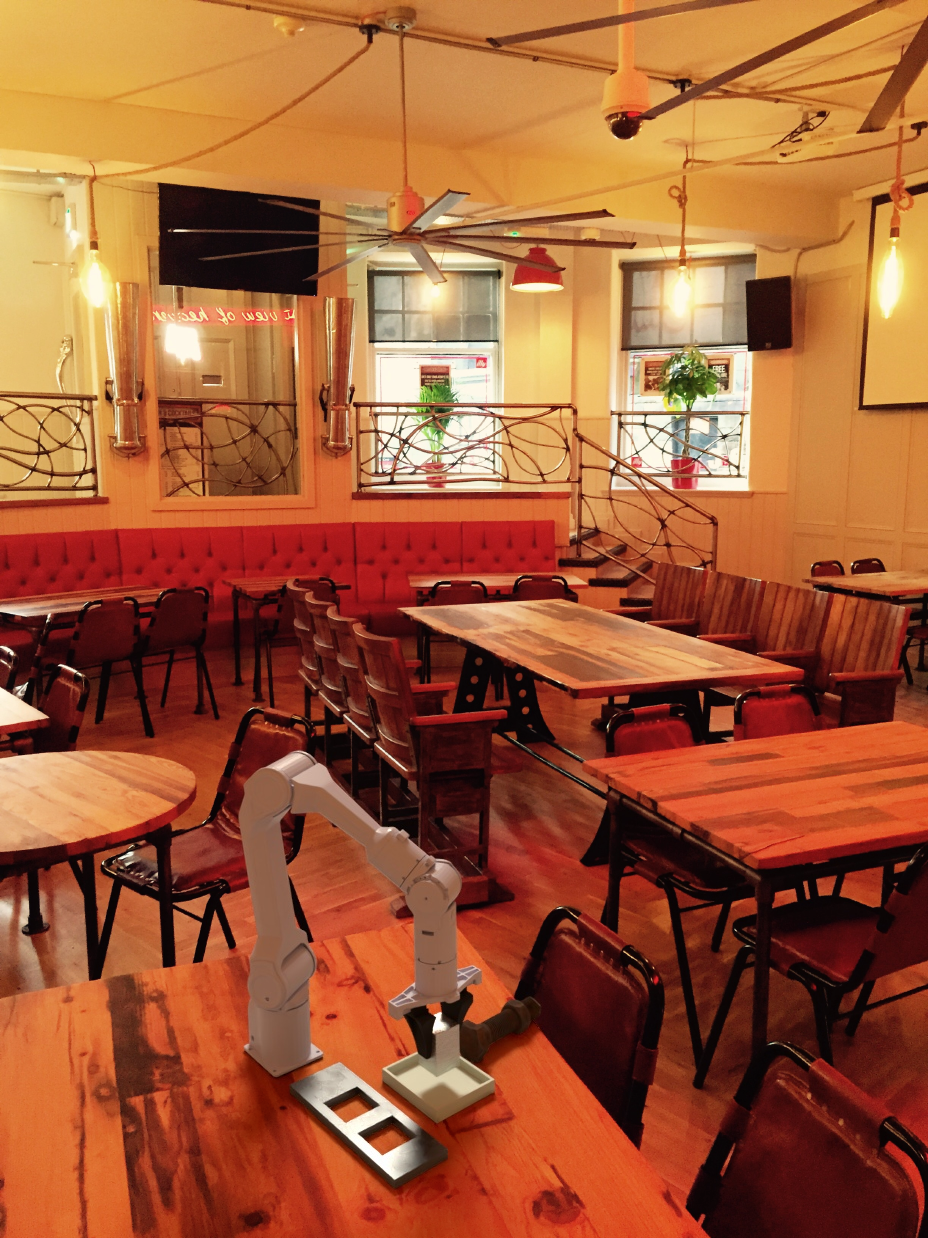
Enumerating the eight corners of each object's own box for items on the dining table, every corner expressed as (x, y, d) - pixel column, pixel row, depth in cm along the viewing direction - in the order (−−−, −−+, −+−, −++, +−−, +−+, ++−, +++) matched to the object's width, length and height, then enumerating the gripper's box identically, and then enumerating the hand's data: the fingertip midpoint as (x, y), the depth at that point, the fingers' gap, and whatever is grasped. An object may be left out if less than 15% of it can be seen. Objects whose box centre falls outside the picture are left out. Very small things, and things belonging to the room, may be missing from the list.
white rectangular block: (418, 1064, 132) (417, 1023, 132) (441, 1053, 135) (440, 1012, 134) (436, 1077, 129) (435, 1035, 129) (459, 1065, 132) (459, 1024, 131)
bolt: (537, 1031, 149) (470, 1071, 139) (516, 1005, 152) (448, 1042, 141) (553, 1007, 147) (486, 1045, 136) (531, 981, 150) (463, 1017, 139)
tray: (382, 1081, 134) (382, 1068, 134) (439, 1053, 141) (438, 1041, 140) (436, 1123, 125) (436, 1110, 125) (494, 1092, 131) (494, 1079, 131)
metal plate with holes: (289, 1093, 132) (289, 1085, 132) (340, 1070, 137) (339, 1062, 137) (394, 1189, 114) (394, 1180, 113) (448, 1158, 119) (448, 1149, 118)
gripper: (410, 984, 123) (412, 1084, 124) (496, 947, 132) (497, 1041, 134) (377, 963, 128) (380, 1060, 130) (462, 930, 137) (464, 1020, 139)
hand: (437, 1049), depth 132 cm, fingers closed on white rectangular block, 4 cm apart
